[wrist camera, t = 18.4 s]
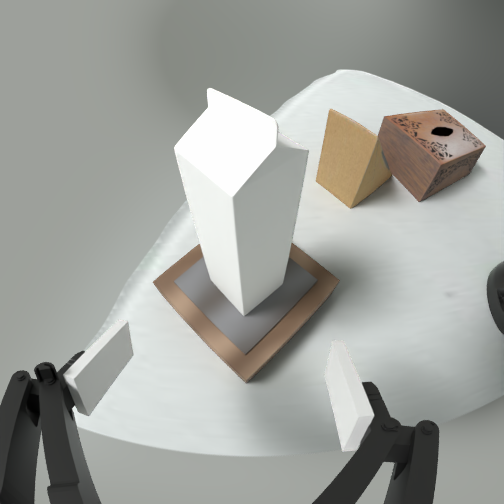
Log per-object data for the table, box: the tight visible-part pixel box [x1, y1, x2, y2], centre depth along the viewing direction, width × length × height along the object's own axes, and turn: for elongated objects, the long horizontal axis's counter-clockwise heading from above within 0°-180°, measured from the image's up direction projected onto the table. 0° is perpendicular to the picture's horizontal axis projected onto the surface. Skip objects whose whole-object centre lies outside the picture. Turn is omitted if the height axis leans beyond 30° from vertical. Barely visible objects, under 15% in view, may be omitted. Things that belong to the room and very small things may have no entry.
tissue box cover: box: [378, 110, 486, 202], centre depth 47 cm, size 26×14×10 cm, turn 117°
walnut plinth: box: [153, 243, 340, 383], centre depth 34 cm, size 16×16×4 cm
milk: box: [174, 88, 309, 316], centre depth 23 cm, size 6×6×22 cm
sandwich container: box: [316, 109, 392, 209], centre depth 41 cm, size 9×15×15 cm, turn 129°
